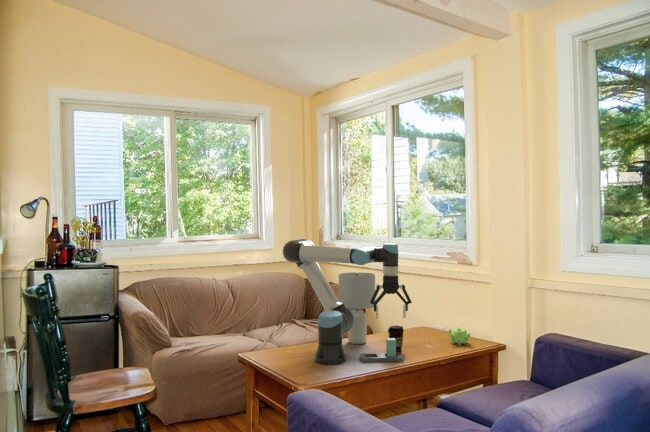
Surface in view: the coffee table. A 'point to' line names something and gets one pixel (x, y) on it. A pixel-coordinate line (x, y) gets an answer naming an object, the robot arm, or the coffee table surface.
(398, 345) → the coffee cup
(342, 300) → the lamp
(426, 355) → the coffee table surface
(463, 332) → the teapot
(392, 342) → the teal brick
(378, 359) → the grey flat frame
